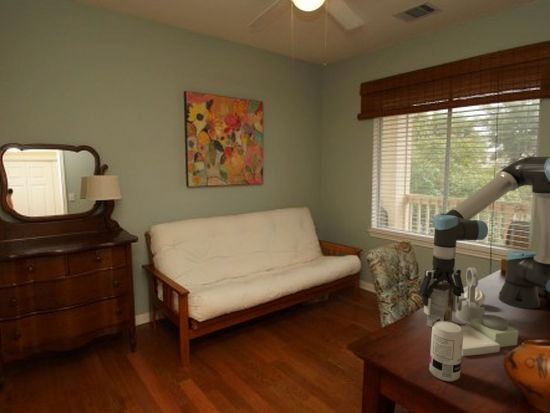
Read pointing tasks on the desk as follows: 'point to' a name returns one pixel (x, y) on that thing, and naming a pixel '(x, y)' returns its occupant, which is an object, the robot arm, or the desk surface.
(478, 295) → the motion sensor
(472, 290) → the engine component
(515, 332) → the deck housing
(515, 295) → the robot arm
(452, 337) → the supplement can
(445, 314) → the coffee box
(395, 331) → the desk surface
